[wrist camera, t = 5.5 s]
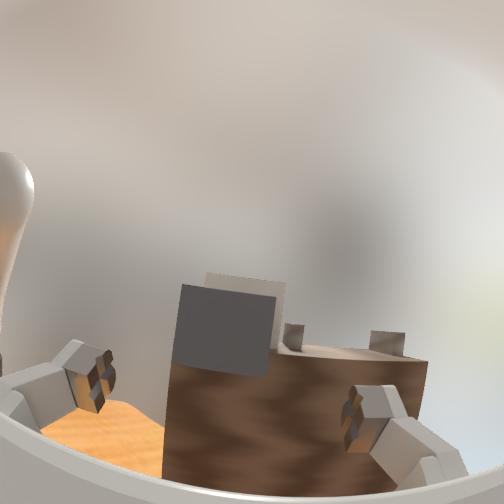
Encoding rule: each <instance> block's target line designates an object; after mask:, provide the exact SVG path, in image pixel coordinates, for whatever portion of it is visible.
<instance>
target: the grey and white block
mask: <svg viewBox="0 0 504 504" xmlns="http://www.w3.org/2000/svg"><path fill="white" fill-rule="evenodd" d="M285 285H286V283H283V282H275V281H267V280H259V279H251V278H243V277H236V276H228V275H221V274H213V273H206V279H205V286H204V287H198V286H191V285H184V284H182V289H181V296H180V302H179V309H178V317H177V324H176V331H175V339H174V347H173V355H172V363H174V364H179V365H184V366H190V367H195V368H201V369H207V370H213V371H219V372H226V373H232V374H239V375H247V376H255V377H263V378H266V373H267V366H268V359H269V351H270V349H278V341H279V334H280V326H281V318H282V311H283V303H284V294H285Z"/></svg>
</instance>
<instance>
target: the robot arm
mask: <svg viewBox="0 0 504 504" xmlns="http://www.w3.org/2000/svg"><path fill="white" fill-rule="evenodd" d="M33 201H34V185H33V180H32V177H31V174H30V172H29V170H28V168H27V167H26V165H25V164H24V163H23V162H22V161H21V160H20V159H19V158H17V157H16V156H14V155H11V154H9V153H6V152H0V336H1V322H2V312H3V304H4V298H5V293H6V289H7V285H8V281H9V278H10V275H11V271H12V268H13V264H14V261H15V257H16V254H17V250H18V247H19V244H20V241H21V237H22V234H23V230H24V227H25V224H26V222H27V219H28V217H29V215H30V212H31V209H32V206H33ZM112 360H113V356H112V352H111V351H110V350H108V349H105V348H101V347H98V346H95V345H92V344H89V343H84V342H81V341H78V340H75V339H74V340H71V341H70V342H69V343H68V344H67V345H66V346H65V347H64V348H63V349H62V351H61V352H60V353H59V354H58V355H57V356H56V357H55V358H54V359H53V360H52V361H51V362H50V363H48V362H45V363H42V364H39V365H37V366H33V367H30V368H27V369H24V370H21V371H18V372H15V373H12V374H9V375H6V376H3V377H2V369H3V364H2V356H1V354H0V504H504V464H502V465H500V466H496V467H493V468H491V469H488V470H485V471H481V472H478V473H475V474H472V475H469V474H468V472H467V470H466V467H465V465H464V463H463V460H462V458H461V456H460V453H459V451H458V450H457V449H456V448H454V447H453V446H451V445H450V444H449V443H447V442H446V441H444V440H443V439H442V438H440V437H439V436H438V435H436V434H434V433H433V432H432V431H430V430H429V429H428V428H426V427H425V426H424V425H422V424H421V423H420V422H418V421H417V420H416V419H414V418H413V417H408V415H407V412H406V410H405V408H404V405H403V403H402V400H401V398H400V396H399V393H398V391H397V389H396V387H395V386H394V385H380V386H364V385H353V386H352V387H351V388H350V391H349V393H348V395H349V400H348V401H347V402H345V403H344V406H343V408H342V412H341V427H342V429H343V430H344V431H345V432H346V434H345V436H344V444H345V449H346V453H368V452H370V453H369V454H370V455H371V456H372V457H373V458H374V459H375V461H376V462H377V463H378V464H379V465H380V466H381V467H382V468H383V470H384V471H385V472H386V473H387V474H388V475H389V476H390V477H391V478H392V479H393V481H394V482H395V483H396V484H397V485H398V487H397V488H396V489H395V490H394V491H393V492H386V493H378V494H369V495H357V496H342V497H280V496H264V495H253V494H243V493H235V492H227V491H220V490H214V489H208V488H202V487H197V486H191V485H187V484H182V483H177V482H173V481H169V480H164V479H160V478H157V477H153V476H149V475H146V474H142V473H139V472H135V471H132V470H129V469H125V468H122V467H119V466H116V465H113V464H110V463H108V462H105V461H102V460H99V459H97V458H94V457H91V456H89V455H86V454H84V453H81V452H79V451H76V450H74V449H72V448H69V447H67V446H65V445H63V444H60V443H58V442H56V441H54V440H52V439H50V438H48V437H45V436H43V435H42V433H41V431H40V429H42V428H44V427H46V426H47V425H49V424H51V423H53V422H55V421H56V420H58V419H60V418H62V417H63V416H65V415H67V414H69V413H70V412H72V411H74V410H76V409H77V407H78V408H80V409H83V410H86V411H89V412H93V413H96V414H98V413H99V411H100V410H101V408H102V406H103V405H104V403H105V398H104V396H106V395H108V394H110V393H111V391H112V390H113V388H114V384H115V380H116V374H115V369H114V368H113V366H112V365H111V364H110V363H111V362H112Z"/></svg>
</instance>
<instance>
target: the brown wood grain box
mask: <svg viewBox="0 0 504 504" xmlns="http://www.w3.org/2000/svg"><path fill="white" fill-rule="evenodd" d="M303 333H304V325H299V324H292V323H285V327H284V335H283V342H278V349H270V351H269V359H268V366H267V373H266V378H263V377H255V376H247V375H239V374H232V373H226V372H219V371H213V370H207V369H201V368H195V367H190V366H184V365H179V364H174V363H172V361H171V370H170V379H169V388H168V398H167V409H166V420H165V433H164V447H163V462H162V479H164V480H169V481H173V482H177V483H182V484H187V485H191V486H197V487H202V488H208V489H214V490H220V491H227V492H235V493H243V494H253V495H264V496H280V497H342V496H357V495H369V494H378V493H386V492H393V491H394V490H395V489H396V488H397V487H398V485H397V484H396V483H395V482H394V481H393V479H392V478H391V477H390V476H389V475H388V474H387V473H386V472H385V471H384V470H383V468H382V467H381V466H380V465H379V464H378V463H377V462H376V461H375V459H374V458H373V457H372V456H371V455H370V454H369V453H370V452H368V453H346V449H345V444H344V436H345V434H346V432H345V431H344V430H343V429H342V427H341V412H342V408H343V406H344V403H345V402H347V401H348V400H349V395H348V393H349V391H350V388H351V387H352V386H353V385H364V386H380V385H394V386H395V387H396V389H397V391H398V393H399V396H400V398H401V400H402V403H403V405H404V408H405V410H406V412H407V415H408V417H413V418H414V419H416V420H418V416H419V411H420V406H421V401H422V396H423V391H424V386H425V380H426V373H427V366H428V361H423V360H419V359H414V358H410V357H405V356H403V349H404V341H405V333H398V332H385V331H371V337H370V345H369V349H351V348H337V347H323V346H313V345H302V341H303ZM174 339H175V338H174ZM173 347H174V344H173ZM172 355H173V352H172Z"/></svg>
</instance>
